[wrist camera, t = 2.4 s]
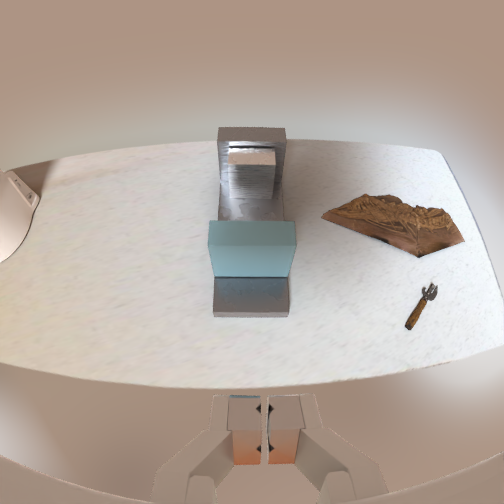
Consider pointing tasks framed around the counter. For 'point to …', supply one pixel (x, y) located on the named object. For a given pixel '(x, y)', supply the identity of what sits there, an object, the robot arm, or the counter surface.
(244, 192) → the steel block
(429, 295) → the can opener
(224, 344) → the counter surface
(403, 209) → the wooden fragment
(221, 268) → the slide jaw
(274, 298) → the vise bed
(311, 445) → the robot arm
